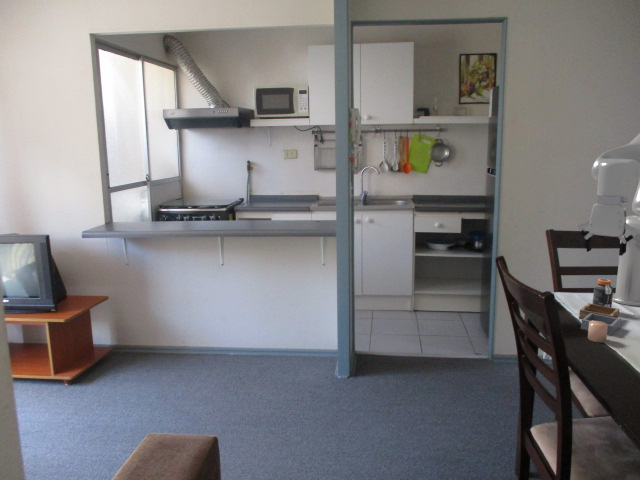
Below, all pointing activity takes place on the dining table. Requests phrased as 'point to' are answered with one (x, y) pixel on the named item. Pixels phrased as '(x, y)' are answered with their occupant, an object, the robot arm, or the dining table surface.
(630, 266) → the robot arm
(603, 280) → the pill bottle
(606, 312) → the brown wooden open tray
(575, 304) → the dining table surface
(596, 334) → the peach rounded capsule
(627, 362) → the dining table surface
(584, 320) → the gray square open tray
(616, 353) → the dining table surface
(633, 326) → the dining table surface
